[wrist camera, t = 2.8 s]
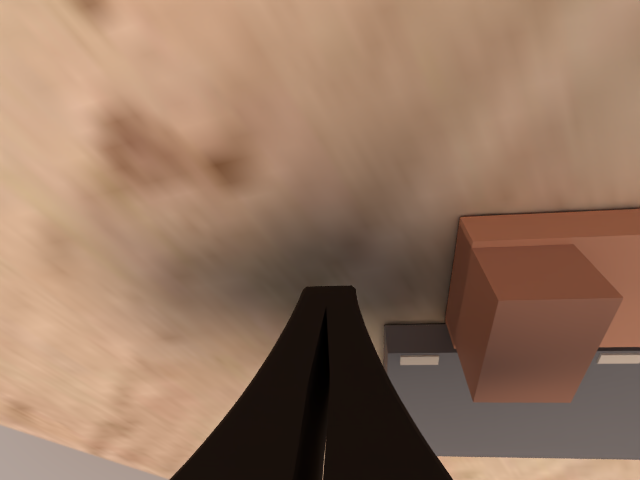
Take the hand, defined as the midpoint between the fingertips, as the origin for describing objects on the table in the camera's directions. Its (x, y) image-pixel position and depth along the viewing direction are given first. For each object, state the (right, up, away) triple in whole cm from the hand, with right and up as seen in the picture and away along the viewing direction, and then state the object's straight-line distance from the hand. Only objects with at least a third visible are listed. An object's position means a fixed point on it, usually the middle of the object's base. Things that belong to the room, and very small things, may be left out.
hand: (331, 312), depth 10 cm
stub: (+9, +1, +1) cm, 9 cm away
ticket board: (+9, -3, +4) cm, 10 cm away
